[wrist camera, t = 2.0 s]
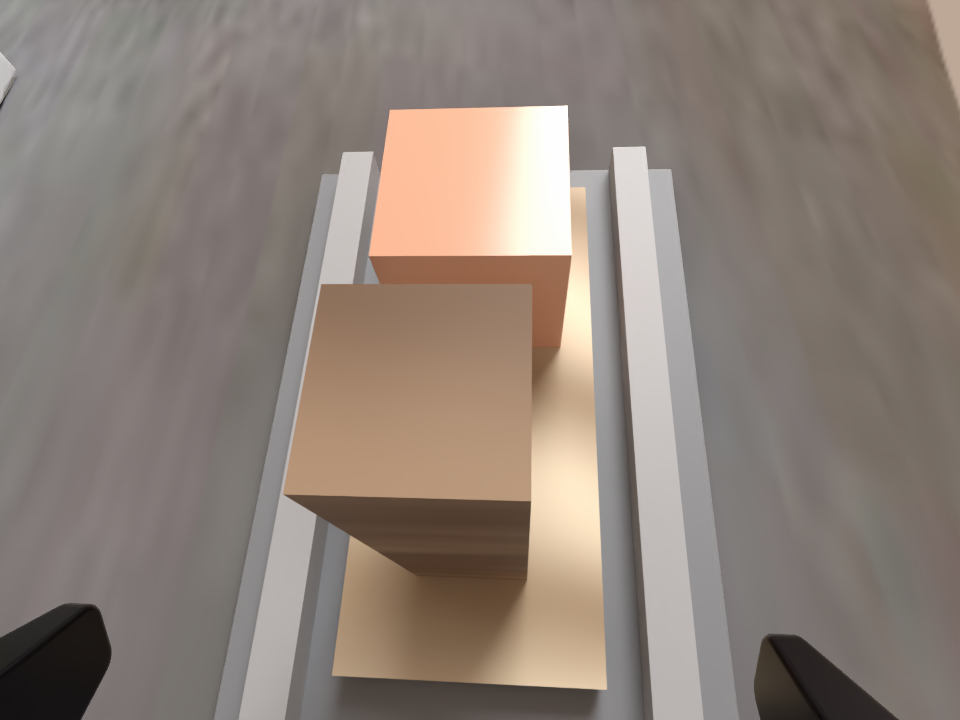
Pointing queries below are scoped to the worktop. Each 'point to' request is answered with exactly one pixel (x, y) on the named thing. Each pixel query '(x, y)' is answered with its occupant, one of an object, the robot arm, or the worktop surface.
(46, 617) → the robot arm
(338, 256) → the guide board
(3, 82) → the tea box
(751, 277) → the worktop surface
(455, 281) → the terracotta cube
